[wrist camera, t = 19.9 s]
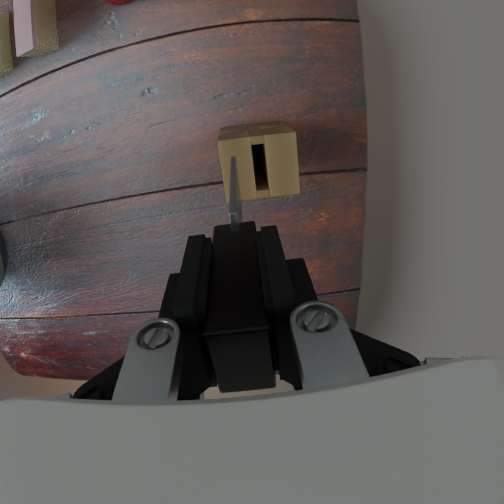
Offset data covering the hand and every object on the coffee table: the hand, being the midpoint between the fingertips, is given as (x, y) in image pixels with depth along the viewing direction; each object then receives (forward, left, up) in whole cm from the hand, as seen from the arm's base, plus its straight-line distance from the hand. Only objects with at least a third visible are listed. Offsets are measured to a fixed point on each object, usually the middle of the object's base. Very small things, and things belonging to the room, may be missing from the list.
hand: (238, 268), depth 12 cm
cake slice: (+8, -27, -27) cm, 39 cm away
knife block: (-1, +3, -27) cm, 27 cm away
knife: (0, 0, -12) cm, 12 cm away
